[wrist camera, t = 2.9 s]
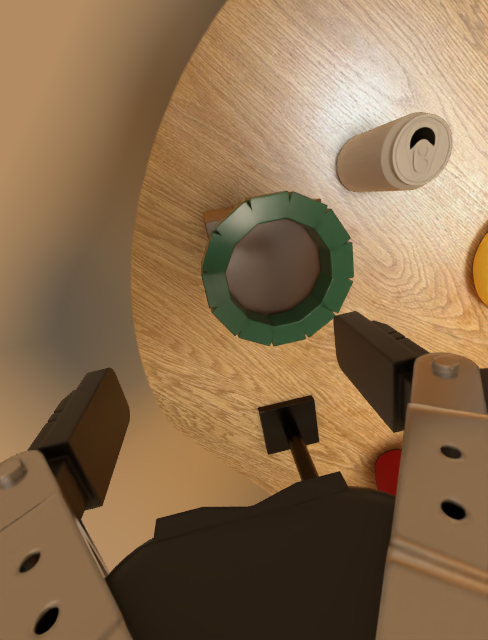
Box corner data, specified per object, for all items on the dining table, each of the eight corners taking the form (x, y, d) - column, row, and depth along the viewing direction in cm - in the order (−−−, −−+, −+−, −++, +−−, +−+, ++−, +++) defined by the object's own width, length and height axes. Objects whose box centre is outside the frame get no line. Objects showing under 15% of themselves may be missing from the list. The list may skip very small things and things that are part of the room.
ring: (219, 344, 25) (221, 358, 23) (187, 210, 21) (185, 211, 19) (343, 316, 25) (356, 328, 23) (334, 180, 21) (350, 178, 19)
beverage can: (384, 131, 37) (461, 102, 26) (382, 188, 40) (453, 184, 29) (333, 138, 37) (390, 113, 26) (335, 196, 39) (388, 194, 28)
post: (266, 449, 53) (286, 523, 41) (258, 407, 50) (276, 475, 38) (316, 437, 54) (350, 507, 41) (311, 394, 50) (347, 457, 38)
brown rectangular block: (217, 277, 41) (229, 330, 25) (202, 212, 38) (204, 222, 21) (278, 264, 42) (330, 307, 25) (269, 198, 38) (321, 198, 22)
